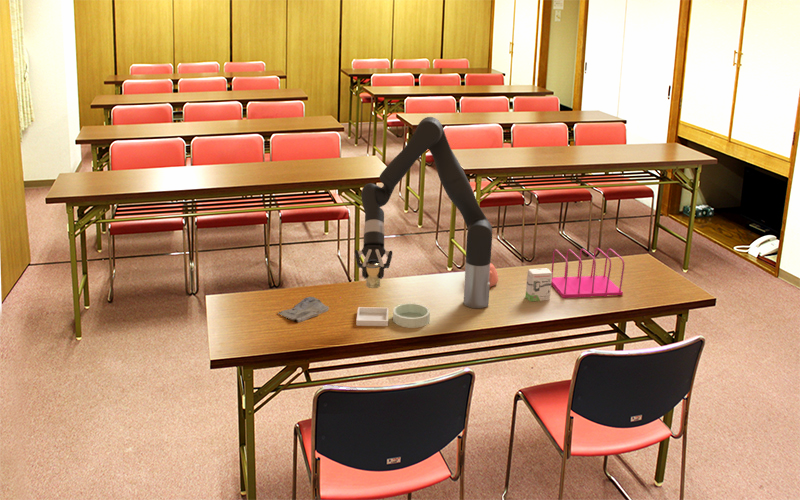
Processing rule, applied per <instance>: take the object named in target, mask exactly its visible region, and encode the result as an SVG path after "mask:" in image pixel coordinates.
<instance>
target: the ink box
mask: <svg viewBox="0 0 800 500" xmlns="http://www.w3.org/2000/svg"><path fill="white" fill-rule="evenodd" d="M526 273H527V276H526V285H525V286H526V287H525V295H524V296H525V299H527V301H529V302H538V301H539V302H543V301H550V298H551V289H552V285H551V282H552V270H550V269H549V268H546V267H544V268H542V267H541V268H529V269H527V272H526Z"/></svg>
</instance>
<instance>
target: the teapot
mask: <svg viewBox="0 0 800 500" xmlns="http://www.w3.org/2000/svg"><path fill="white" fill-rule="evenodd" d="M489 283H490V288H491V287H494V286H495V285H497V283H499V275H498V271H497V268H496V267H495V266H494V264H493V263H491V262H490V275H489Z"/></svg>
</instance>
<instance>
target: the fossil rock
mask: <svg viewBox="0 0 800 500" xmlns="http://www.w3.org/2000/svg"><path fill="white" fill-rule="evenodd" d="M329 309H330V307H329V306H328V305H325V304H324V303H323V302H322V300H320V299H319V298H317V297H314V296H308V297H304V298H303V299H302V300H300V301H299V302H298V303H297V304H295V305H294V307H292V308H289V309H284V310H281V312H280V311H278V312H279V313H278V312H277V313H278V314H277V315H279V314H280V315H282V316H284V317H286V318H285V319H287V318H288V320H291V321H294V322H297V323H302V322H305V321H307V320H309V319H312V318H314V317H318V316H319V315H321V314H324V313H326V312H329ZM280 315H279V316H280ZM282 316H281V317H282ZM284 317H283V318H284ZM295 320H296V321H295Z"/></svg>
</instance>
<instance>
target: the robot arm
mask: <svg viewBox="0 0 800 500" xmlns="http://www.w3.org/2000/svg"><path fill="white" fill-rule="evenodd" d="M414 131H415V132H413V134H412V136H411V138H410V139H409V141H408V142H407V144H406V145H405V146H404V148H403V149H402V150H401V151H400V152H399V153H398V154H397V155H396V156H395V157H394V158H393V159H392V160H391V161H390V162H389V163H388V164H387V165H386V167H385V168H384V169H383V171H381V172H380V174H379V180H380V182H381V184H383V185H382V187H381V186H379V185H377V184H375V183H373V182H372V183H371V182H370V183H369V182H368V183H366V184H365V185H364V186H363V187H362V189H361V195H360V197H361V202H362V206H363V211H364V214H365V215H364V225H363V226H364V227H363V245H362V246H363V247H362V249H361V250H356V249H355V250H354V257H355V261H356V266H357V268H359V269H362V270H361V277H362V278H363V279H364V280H366V262H368V261H378V262H380V280H382V279H383V278H384V277H385V269H389V268H390V265H391V263H392V258H393V250H386V248H385V235H386V233H385V230H386V229H385V212H384V210H383V208H381V207H384V206H385V205H387V204H388V202H389V201H390V198H391V197H392V195H393V192H394V190H395V188H396V186H397V185H398V184H399V183H400V181H401V180H402V179H403V178H404V177H405V175H406V174H407V173H408V172H409V171H410V169H411V167H413V165H414V164H415V163H416V162H417V160H418V159H419V158H420V157H421V156H422V155H423V154H424V153H425V152H427V151H428V150H429V152H430V154H431V156H432V159H433V161H434V164H435V169H436V171H437V175H438V178H439V180H440V183H441V186H442V187H443V189H444V191H445V193H446V195H447V197H448V198H449V200H450V201H451V202H452V203H453V206H455V207H456V208H457V209H458V211H459V212H460V214H461V216H462V218H463V220H464V223H465V226H466V229H467V232H466V245H465V247H466V248H465V249H466V250H465V268H464V269H465V270H464V284H463V285H464V291H463V305H465V306H466V307H468V308H471V309H482V308H488V307H489V305H490V304H489V303H490V288H491V287H490V283H489V275H490V263H491V260H492V259H491V258H492V247H493V246H492V243H493V227H492V225H491V223H490V221H489V220H488V218H487V217H486V214H485V213H484V212H483V210H482V208H481V206H480V205H479V203H478V201H477V198H476V194H475V193H474V190H473V187H472V185H471V183H470V181H469V179H468V177H467V175H466V173H465V171H464V169H463V168H462V166H461V163H460V162H459V160H458V159H457V157H456V155H455V154H454V152H453V150H452V148H451V146H450V143H449V141H448V138H447V136H446V133H445V129H444V127H443V125H442V122H441V121H439V120H438V118H436V117H432V116H427V117H424V118H422V120H421V121H420V122H419V123H418V125H417V126H416V128H415V130H414ZM362 255H363V256H364V260H363V263H361V259H360V258H361V257H362ZM384 256H386V258H387V259H386V262H385V263H384V262H383V257H384Z"/></svg>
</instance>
